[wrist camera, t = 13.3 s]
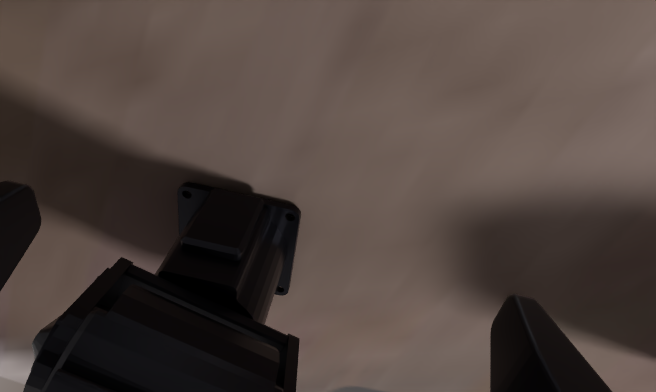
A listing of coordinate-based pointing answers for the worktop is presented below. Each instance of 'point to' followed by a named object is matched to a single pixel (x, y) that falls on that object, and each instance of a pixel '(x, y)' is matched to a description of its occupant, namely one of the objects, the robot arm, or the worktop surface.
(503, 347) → the robot arm
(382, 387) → the worktop surface
